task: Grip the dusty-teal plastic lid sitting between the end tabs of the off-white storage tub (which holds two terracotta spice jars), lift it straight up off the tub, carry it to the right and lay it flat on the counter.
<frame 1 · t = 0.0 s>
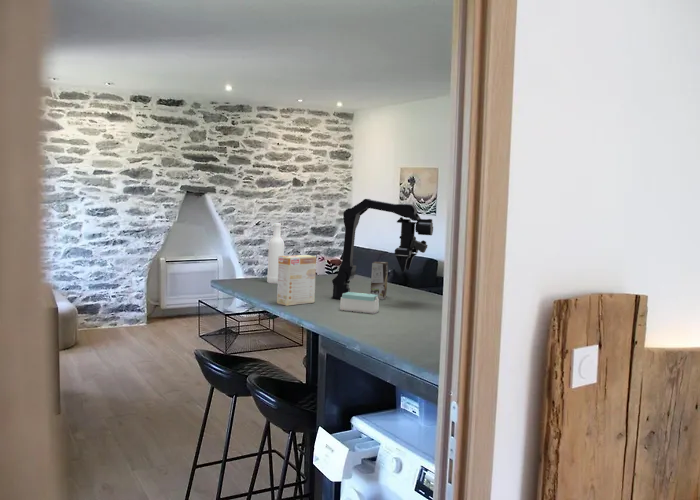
hand: (405, 270, 260), 15 cm above the counter, fingers open, 9 cm apart
coffee box: (378, 298, 277), on the counter
coffeecake box: (295, 303, 253), on the counter
tub: (359, 310, 242), on the counter
bottle: (274, 282, 309), on the counter
lid: (359, 298, 242), point 5 cm above the counter, touching tub
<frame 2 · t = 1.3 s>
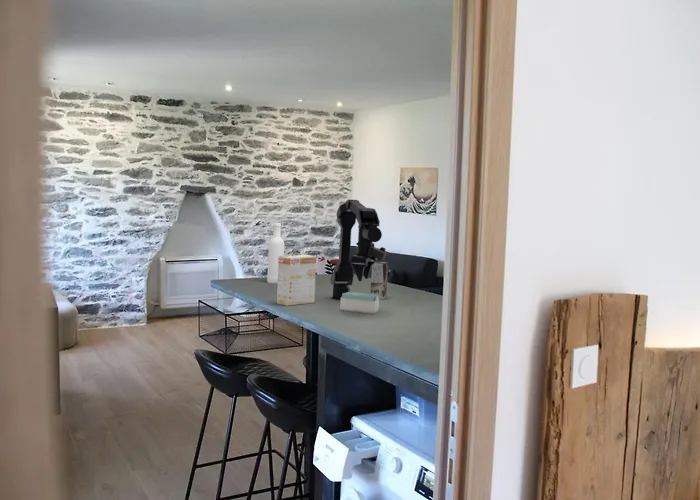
hand: (363, 279, 242), 12 cm above the counter, fingers open, 9 cm apart
nothing on the counter moved.
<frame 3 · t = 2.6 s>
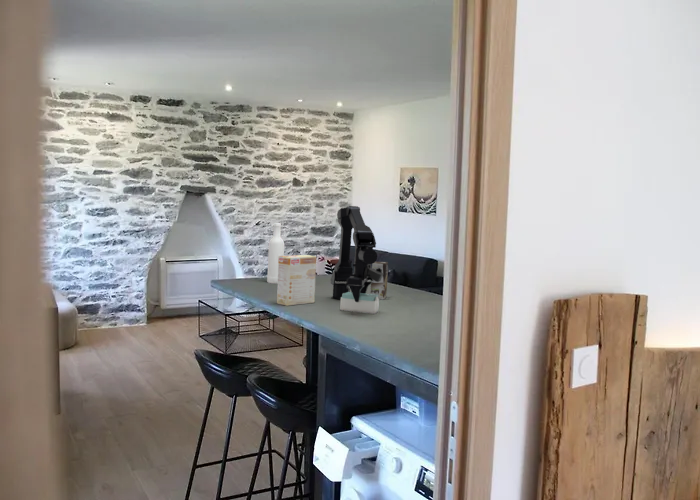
hand: (359, 300, 242), 4 cm above the counter, fingers closed on lid, 7 cm apart
lid: (359, 298, 242), point 5 cm above the counter, touching gripper, tub
everything else where it was.
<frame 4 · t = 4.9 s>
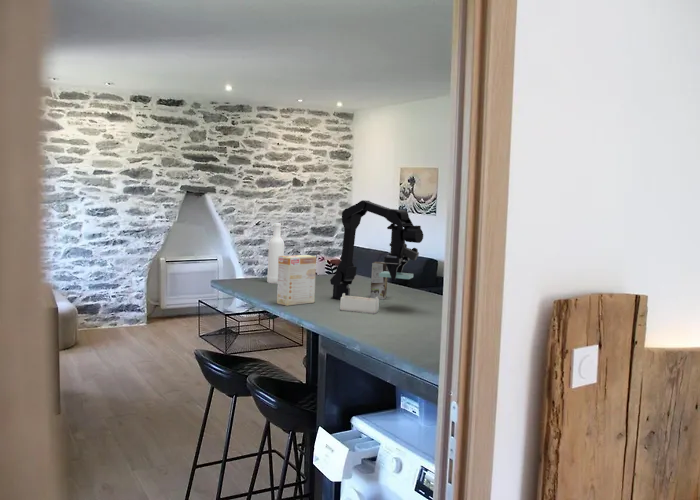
hand: (396, 279, 250), 12 cm above the counter, fingers closed on lid, 7 cm apart
lid: (396, 277, 250), point 13 cm above the counter, touching gripper
everything else where it was.
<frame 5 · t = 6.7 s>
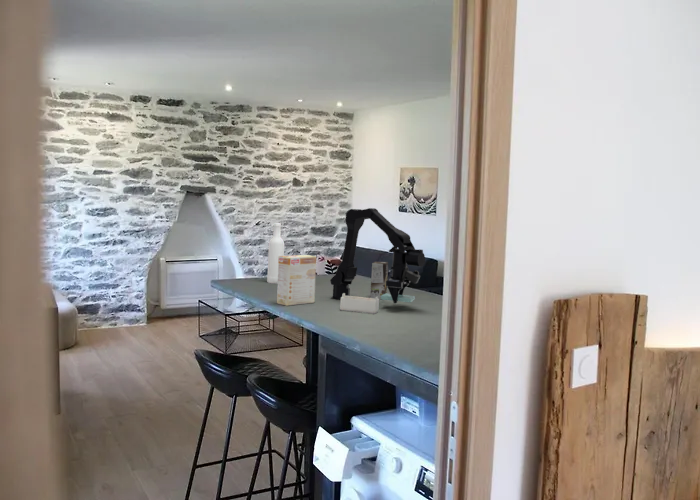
hand: (397, 301, 252), 3 cm above the counter, fingers closed on lid, 7 cm apart
lid: (397, 299, 252), point 4 cm above the counter, touching gripper
everything else where it was.
when the fingers open (1 cm above the counter, at t = 7.6 s): lid drops 3 cm, on the counter.
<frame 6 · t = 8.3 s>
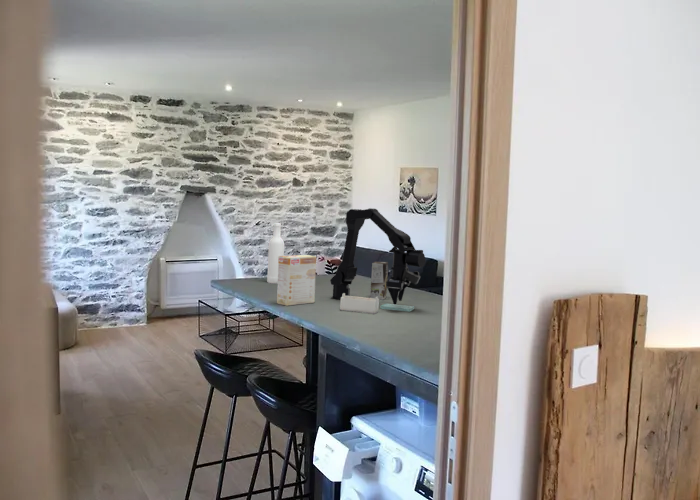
hand: (397, 302, 252), 3 cm above the counter, fingers open, 9 cm apart
lid: (397, 309, 252), on the counter
everything else where it was.
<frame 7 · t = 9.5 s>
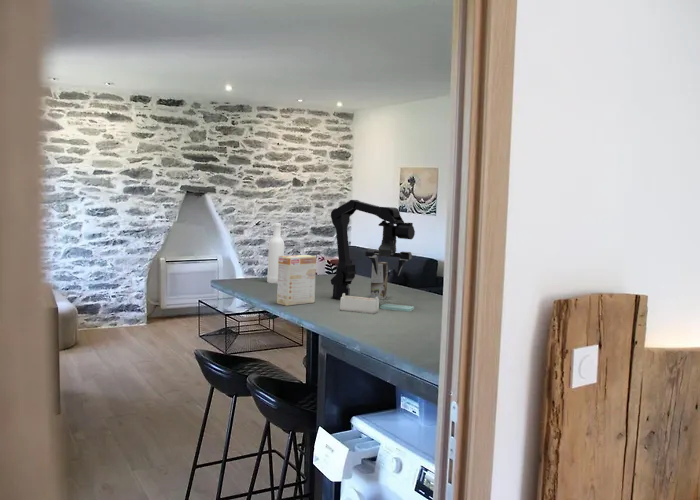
hand: (387, 274, 256), 13 cm above the counter, fingers open, 9 cm apart
nothing on the counter moved.
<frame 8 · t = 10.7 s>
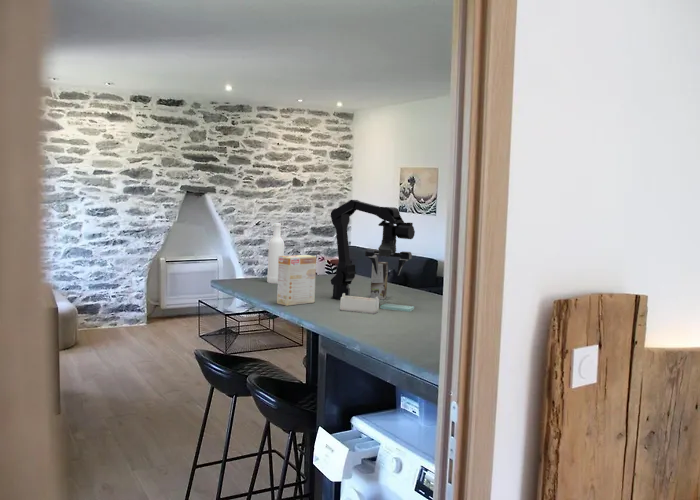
hand: (387, 274, 256), 13 cm above the counter, fingers open, 9 cm apart
nothing on the counter moved.
at the end: lid inside the target area (0.0 cm from its centre), on the counter; lid tilted 0°; lid touching counter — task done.
